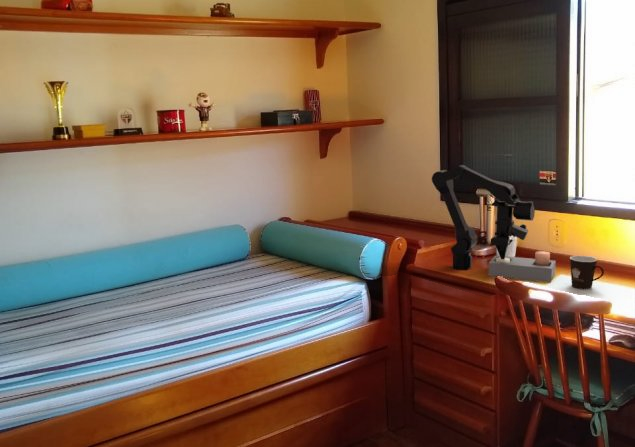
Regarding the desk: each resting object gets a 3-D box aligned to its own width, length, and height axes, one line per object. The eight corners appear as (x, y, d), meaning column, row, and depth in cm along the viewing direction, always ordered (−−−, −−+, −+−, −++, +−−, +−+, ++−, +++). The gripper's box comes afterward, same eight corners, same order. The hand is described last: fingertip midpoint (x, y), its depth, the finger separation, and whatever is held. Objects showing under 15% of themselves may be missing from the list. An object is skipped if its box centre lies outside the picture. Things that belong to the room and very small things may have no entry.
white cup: (515, 259, 260) (516, 235, 258) (516, 264, 253) (517, 239, 251) (495, 258, 262) (495, 234, 260) (495, 263, 254) (496, 238, 252)
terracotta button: (534, 265, 232) (534, 253, 232) (535, 262, 237) (536, 250, 236) (548, 266, 230) (549, 255, 229) (550, 263, 235) (550, 252, 234)
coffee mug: (563, 283, 225) (565, 256, 223) (587, 282, 226) (589, 255, 224) (580, 293, 214) (581, 264, 212) (604, 292, 215) (606, 263, 213)
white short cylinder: (494, 271, 239) (494, 259, 238) (497, 268, 244) (497, 256, 243) (508, 272, 237) (508, 261, 236) (510, 269, 241) (511, 258, 241)
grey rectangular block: (488, 275, 237) (488, 262, 236) (494, 267, 248) (495, 255, 247) (551, 282, 227) (551, 268, 226) (554, 273, 238) (555, 260, 237)
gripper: (523, 224, 225) (521, 267, 228) (530, 215, 241) (528, 255, 244) (490, 222, 230) (489, 264, 233) (500, 213, 246) (499, 252, 249)
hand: (502, 259), depth 240 cm, fingers closed, pressing on white short cylinder
